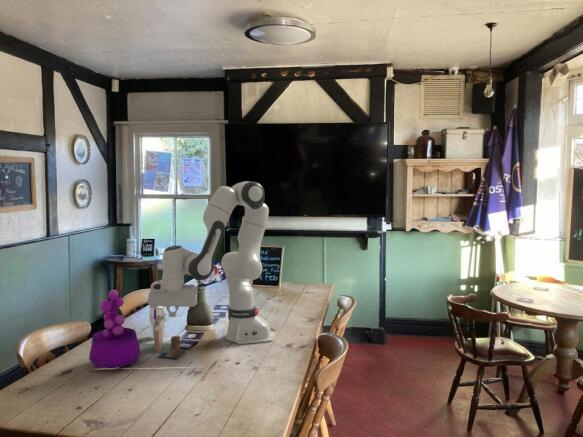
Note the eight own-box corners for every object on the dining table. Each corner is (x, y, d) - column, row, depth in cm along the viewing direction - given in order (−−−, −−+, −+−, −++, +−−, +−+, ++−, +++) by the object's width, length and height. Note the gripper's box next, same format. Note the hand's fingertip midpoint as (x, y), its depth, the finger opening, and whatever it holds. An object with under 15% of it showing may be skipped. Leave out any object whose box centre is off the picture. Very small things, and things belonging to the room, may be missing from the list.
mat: (174, 344, 212) (174, 343, 211) (169, 354, 200) (169, 353, 200) (132, 345, 210) (132, 343, 210) (125, 355, 199) (125, 353, 199)
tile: (162, 345, 209) (162, 325, 208) (159, 351, 202) (158, 330, 201) (158, 345, 209) (157, 325, 208) (154, 351, 202) (154, 330, 201)
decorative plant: (91, 378, 177) (89, 298, 174) (87, 360, 193) (84, 287, 190) (144, 368, 185) (142, 292, 182) (136, 352, 202) (134, 282, 199)
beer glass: (161, 341, 215) (160, 308, 214) (147, 340, 216) (146, 308, 215) (168, 336, 222) (167, 304, 220) (154, 335, 223) (153, 303, 222)
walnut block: (180, 354, 200) (180, 336, 199) (179, 357, 197) (178, 338, 196) (172, 355, 200) (172, 336, 199) (171, 357, 196) (170, 338, 196)
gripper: (198, 283, 207) (198, 314, 208) (150, 282, 206) (150, 314, 207) (196, 286, 201) (196, 318, 202) (146, 285, 199) (146, 318, 200)
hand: (172, 316), depth 204 cm, fingers closed
